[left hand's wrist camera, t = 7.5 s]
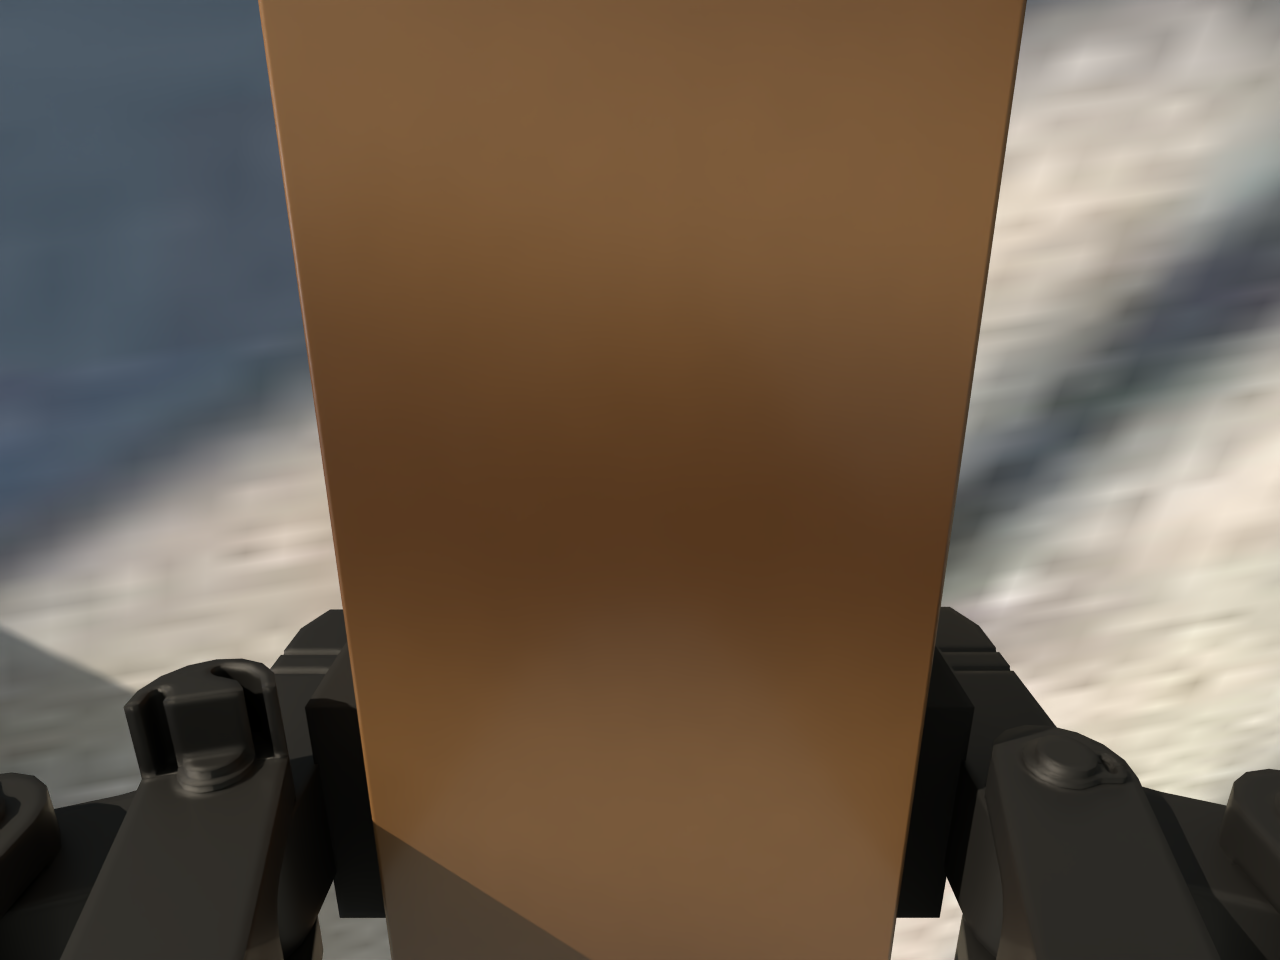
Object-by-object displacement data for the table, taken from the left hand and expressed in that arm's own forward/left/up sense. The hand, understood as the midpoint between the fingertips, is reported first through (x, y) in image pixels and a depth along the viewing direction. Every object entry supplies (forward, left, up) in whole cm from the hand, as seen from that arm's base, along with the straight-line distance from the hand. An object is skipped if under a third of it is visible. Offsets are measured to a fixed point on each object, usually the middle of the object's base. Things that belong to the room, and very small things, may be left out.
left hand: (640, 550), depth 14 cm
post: (+3, +28, -1) cm, 28 cm away
